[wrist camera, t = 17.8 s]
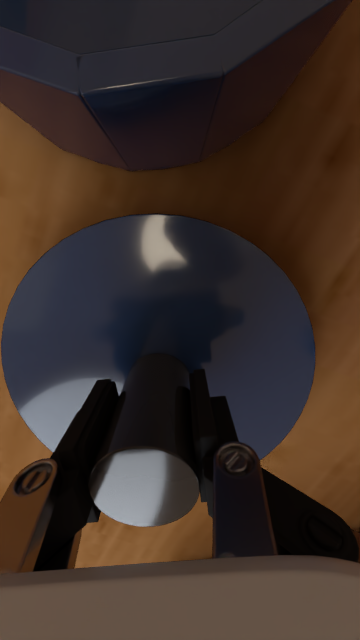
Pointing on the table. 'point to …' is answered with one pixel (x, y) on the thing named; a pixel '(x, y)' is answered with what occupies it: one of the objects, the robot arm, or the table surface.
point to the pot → (154, 71)
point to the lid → (156, 351)
